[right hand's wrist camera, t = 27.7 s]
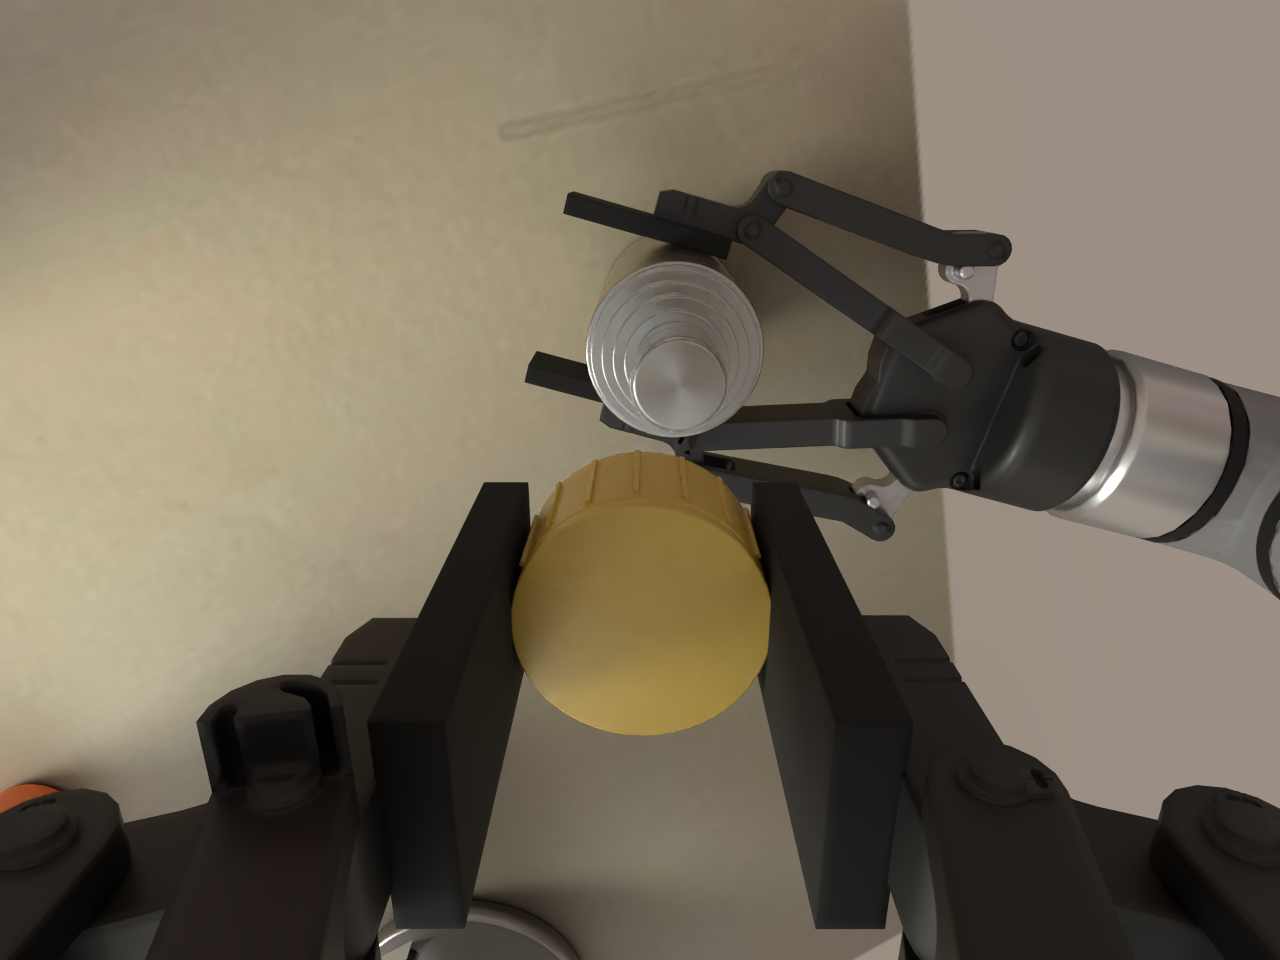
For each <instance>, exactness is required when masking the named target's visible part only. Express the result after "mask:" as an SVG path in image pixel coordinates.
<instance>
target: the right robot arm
mask: <svg viewBox="0 0 1280 960" xmlns="http://www.w3.org/2000/svg"><path fill="white" fill-rule="evenodd" d="M750 519H751V522H752V526H753V529H754V532H755V536H756V539H757V543H758V546H759V550H760V553H761V558H760V560H761V564H762V567H763V571H764V574H765V578H766V581H767V585H768V588H769V592H770V595H771V608H770V624H769V639H768V654H767V658H766V660H765V662H764V664H763V666H762V668H761V670H760V672H759V674H758V679H759V684H760V688H761V692H762V697H763V701H764V705H765V710H766V714H767V719H768V723H769V727H770V732H771V736H772V740H773V745H774V749H775V753H776V758H777V762H778V767H779V771H780V775H781V780H782V784H783V788H784V793H785V797H786V801H787V806H788V810H789V815H790V819H791V823H792V828H793V832H794V836H795V841H796V845H797V850H798V854H799V858H800V863H801V867H802V871H803V876H804V880H805V884H806V889H807V893H808V898H809V902H810V906H811V911H812V915H813V919H814V924H815V928H816V929H885V924H886V917H887V910H888V903H889V896H890V891H891V894H892V897H893V900H894V903H895V905H896V908H897V911H898V914H899V917H900V920H901V923H902V926H903V932H902V939H901V945H900V952H899V958H898V960H1280V809H1279V808H1277V807H1275V806H1273V805H1271V804H1269V803H1267V802H1265V801H1263V800H1261V799H1259V798H1257V797H1254V796H1251V795H1248V794H1245V793H1240V792H1238V791H1234V790H1231V789H1227V788H1221V787H1211V786H1200V785H1195V786H1191V787H1186V788H1181V789H1176V790H1174V791H1173V792H1172V793H1171V794H1170V795H1169V796H1168V797H1167V798H1166V799H1165V800H1164V801H1163V803H1162V807H1161V811H1160V814H1159V818H1158V820H1155V819H1151V818H1146V817H1142V816H1137V815H1133V814H1128V813H1124V812H1119V811H1115V810H1110V809H1106V808H1101V807H1097V806H1094V805H1090V804H1087V803H1083V802H1080V801H1076V800H1074V799H1072V798H1070V795H1069V793H1068V791H1067V789H1066V788H1065V786H1064V785H1063V784H1062V782H1061V781H1060V779H1059V778H1058V776H1057V775H1056V773H1054V772H1053V771H1052V770H1050V769H1049V768H1048V767H1047V766H1045V765H1044V764H1043V763H1042V762H1040V761H1039V760H1038V759H1036V758H1035V757H1033V756H1031V755H1028V754H1026V753H1024V752H1022V751H1020V750H1017V749H1015V748H1013V747H1011V746H1007V745H1004V744H1003V743H1002V741H1001V739H1000V738H999V736H998V734H997V733H996V731H995V730H994V728H993V727H992V725H991V723H990V722H989V720H988V718H987V717H986V715H985V714H984V712H983V710H982V709H981V707H980V706H979V704H978V703H977V701H976V699H975V698H974V696H973V695H972V693H971V691H970V690H969V688H968V687H967V685H966V683H965V682H962V680H961V675H960V674H959V672H958V671H957V669H956V667H955V666H954V664H953V663H950V658H949V656H948V655H947V653H946V651H945V650H944V648H943V647H942V645H941V643H940V642H939V640H938V639H937V637H936V635H934V634H933V633H932V632H930V631H929V630H928V629H926V628H925V627H923V626H922V625H921V624H919V623H918V622H916V621H915V620H914V619H912V618H911V617H910V616H908V615H861V613H860V611H859V609H858V607H857V605H856V603H855V601H854V599H853V597H852V595H851V593H850V591H849V589H848V587H847V584H846V582H845V580H844V578H843V576H842V574H841V572H840V570H839V568H838V566H837V564H836V562H835V560H834V558H833V556H832V554H831V552H830V550H829V548H828V546H827V544H826V542H825V540H824V538H823V536H822V533H821V531H820V529H819V527H818V525H817V523H816V521H815V519H814V517H813V515H812V513H811V511H810V509H809V507H808V505H807V503H806V501H805V499H804V497H803V495H802V493H801V491H800V489H799V487H798V485H797V483H796V482H752V499H751V518H750ZM530 529H531V527H530V507H529V488H528V482H484V484H483V486H482V488H481V490H480V492H479V494H478V496H477V498H476V500H475V502H474V504H473V506H472V508H471V510H470V512H469V514H468V516H467V518H466V520H465V522H464V524H463V527H462V529H461V531H460V533H459V535H458V537H457V539H456V541H455V543H454V545H453V547H452V549H451V551H450V553H449V555H448V557H447V559H446V561H445V563H444V565H443V567H442V569H441V571H440V573H439V575H438V578H437V580H436V582H435V584H434V586H433V588H432V590H431V592H430V594H429V596H428V598H427V600H426V602H425V604H424V606H423V608H422V610H421V612H420V614H419V616H418V618H372V619H371V620H369V621H368V622H367V623H365V624H364V625H363V626H361V627H360V628H358V629H357V630H356V631H354V632H353V633H352V634H350V635H349V636H347V637H346V638H345V640H344V641H343V643H342V645H341V646H340V648H339V649H338V651H337V653H336V654H335V656H334V657H333V659H332V661H331V665H328V667H327V669H326V670H325V672H324V673H323V675H322V677H321V678H319V677H315V676H312V675H281V676H276V677H271V678H266V679H261V680H257V681H254V682H252V683H249V684H247V685H244V686H242V687H239V688H237V689H235V690H232V691H230V692H229V693H227V694H226V695H224V696H223V697H221V698H220V699H218V700H217V701H215V702H214V703H212V704H211V705H209V707H208V708H207V709H206V710H205V712H204V713H203V714H202V715H201V717H200V718H199V719H198V720H197V722H196V723H197V728H198V732H199V737H200V741H201V745H202V750H203V754H204V759H205V763H206V767H207V772H208V776H209V780H210V785H211V789H212V794H211V797H210V799H209V802H208V803H206V804H203V805H199V806H196V807H192V808H189V809H185V810H182V811H177V812H173V813H168V814H164V815H159V816H155V817H150V818H146V819H141V820H137V821H132V822H128V823H124V822H123V819H122V815H121V812H120V808H119V804H118V803H116V802H115V801H114V800H113V799H112V798H111V797H110V796H109V795H108V794H107V793H103V792H99V791H94V790H89V789H76V790H66V791H56V792H53V793H50V794H46V795H42V796H40V797H36V798H33V799H30V800H27V801H24V802H22V803H20V804H18V805H16V806H14V807H12V808H10V809H8V810H6V811H4V812H2V813H0V960H381V952H380V945H379V939H378V929H379V926H380V923H381V920H382V917H383V914H384V911H385V908H386V905H387V903H388V900H389V897H390V894H391V899H392V906H393V913H394V920H395V927H396V929H465V926H466V922H467V918H468V913H469V909H470V904H471V900H472V896H473V891H474V887H475V883H476V878H477V874H478V869H479V865H480V861H481V856H482V852H483V848H484V843H485V839H486V834H487V830H488V826H489V821H490V817H491V813H492V808H493V804H494V800H495V795H496V791H497V786H498V782H499V778H500V773H501V769H502V765H503V760H504V756H505V751H506V747H507V743H508V738H509V734H510V730H511V725H512V721H513V717H514V712H515V708H516V703H517V699H518V695H519V690H520V686H521V682H522V677H523V673H524V669H523V668H522V666H521V663H520V661H519V659H518V656H517V654H516V651H515V647H514V643H513V638H512V623H511V605H512V600H513V595H514V591H515V587H516V584H517V581H518V578H519V575H520V571H521V568H522V567H521V566H519V563H520V559H521V556H522V553H523V550H524V547H525V544H526V541H527V538H528V535H529V532H530Z"/></svg>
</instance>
